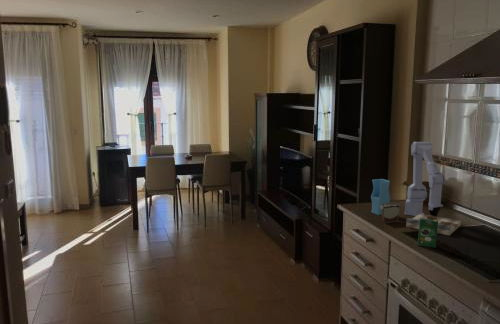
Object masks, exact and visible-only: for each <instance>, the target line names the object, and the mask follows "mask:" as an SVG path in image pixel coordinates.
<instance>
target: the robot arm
mask: <svg viewBox="0 0 500 324" xmlns="http://www.w3.org/2000/svg"><path fill="white" fill-rule="evenodd" d="M410 149H411V150H410V155H411V156H413V158H412V159H413V161H412V162H413V165H412V168H413V170H412V172H413V173H412V184H410V185H408V187H407V192H406V196H407V198H406V200H405V203H404V213H403V215H407V216H413V217H415V216H417V215H418V214H425V213H424V212H423V207H424V206H423V205H424V201H425V200H426V199H427V197H429V200H428V207H427V210H428V211H429V215H433V216H437V217H438V216H439V213H440V210H441V209H442V208H441V207H444V205H443V204H442V203H441V202H442V190H443V185H444V184H445V180H446V179H445V175H444V173H442V172H441V171H440V169H439V166H438V164H437V163H436V162H434V158H433V155H432V149H433V145H432V142H431V141H413V142H412V144H411V147H410ZM423 159H424V162H425V163H426V165H425V169H426V172H427V174H428V186H429V196H428V192H427V188H426V186H425V185H424V184H423Z"/></svg>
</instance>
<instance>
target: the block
mask: <svg viewBox="0 0 500 324" xmlns="http://www.w3.org/2000/svg"><path fill="white" fill-rule="evenodd" d="M427 215H428V216H427V219H431V220H437V217H438V215H437V216H433V215H430V214H427Z"/></svg>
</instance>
